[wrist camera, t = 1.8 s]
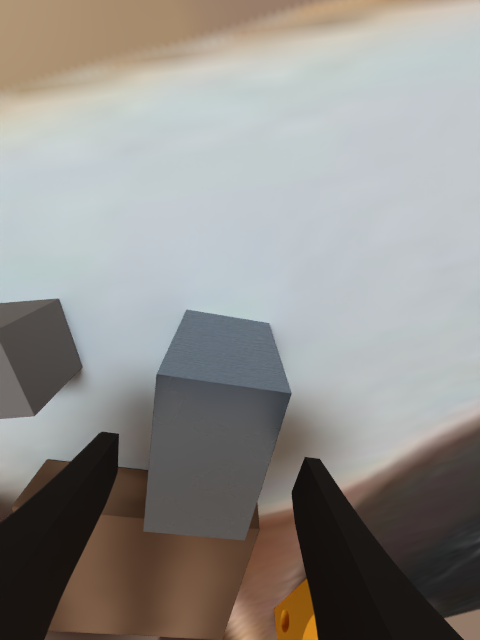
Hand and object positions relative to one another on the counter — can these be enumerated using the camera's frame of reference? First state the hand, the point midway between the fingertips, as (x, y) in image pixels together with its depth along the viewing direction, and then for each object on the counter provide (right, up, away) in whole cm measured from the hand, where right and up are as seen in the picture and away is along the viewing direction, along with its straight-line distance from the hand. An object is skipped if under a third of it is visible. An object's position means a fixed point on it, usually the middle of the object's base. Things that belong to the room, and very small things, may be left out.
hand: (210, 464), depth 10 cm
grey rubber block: (-10, +5, +4) cm, 12 cm away
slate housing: (0, +2, +5) cm, 6 cm away
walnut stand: (-6, -11, +10) cm, 16 cm away
